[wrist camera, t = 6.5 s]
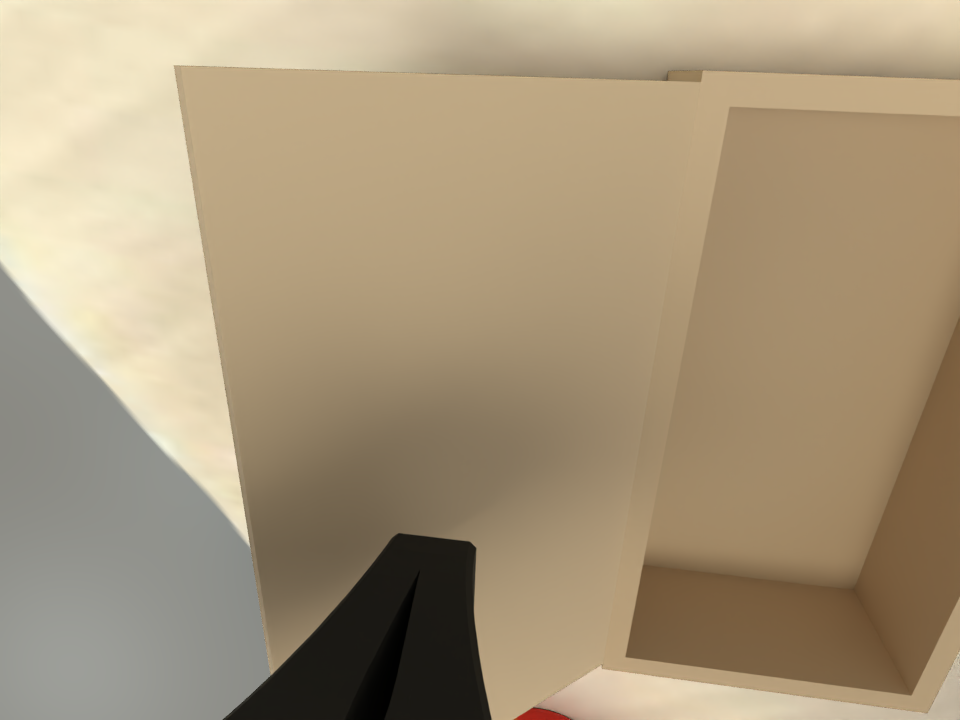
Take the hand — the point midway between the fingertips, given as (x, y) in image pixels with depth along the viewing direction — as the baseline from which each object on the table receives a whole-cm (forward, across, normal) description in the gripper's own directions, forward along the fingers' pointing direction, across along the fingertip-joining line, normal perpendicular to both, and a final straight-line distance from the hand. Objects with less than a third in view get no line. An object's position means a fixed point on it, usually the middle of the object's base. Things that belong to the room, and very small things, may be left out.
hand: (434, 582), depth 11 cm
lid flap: (+2, -1, 0) cm, 3 cm away
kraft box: (+10, -8, 0) cm, 13 cm away
